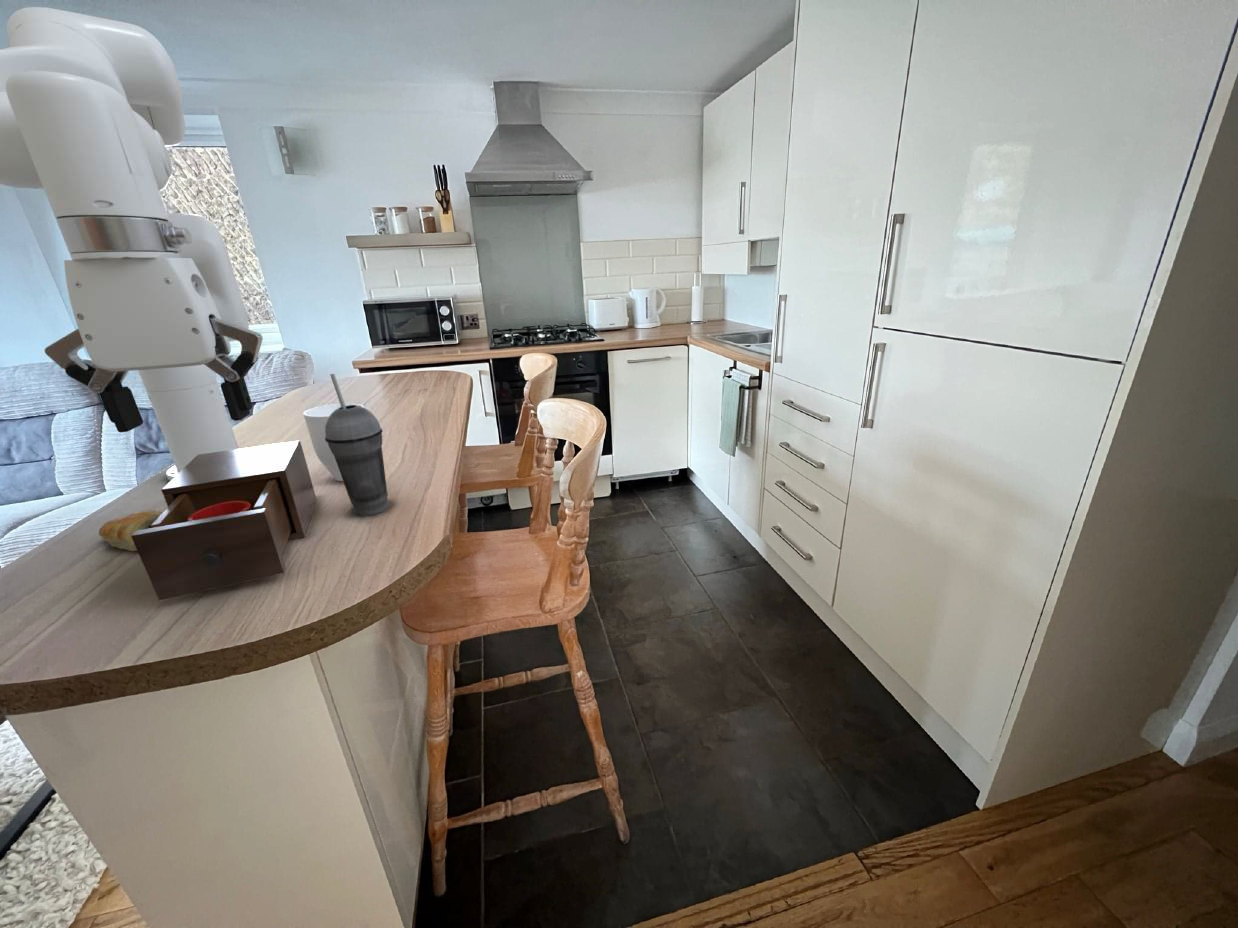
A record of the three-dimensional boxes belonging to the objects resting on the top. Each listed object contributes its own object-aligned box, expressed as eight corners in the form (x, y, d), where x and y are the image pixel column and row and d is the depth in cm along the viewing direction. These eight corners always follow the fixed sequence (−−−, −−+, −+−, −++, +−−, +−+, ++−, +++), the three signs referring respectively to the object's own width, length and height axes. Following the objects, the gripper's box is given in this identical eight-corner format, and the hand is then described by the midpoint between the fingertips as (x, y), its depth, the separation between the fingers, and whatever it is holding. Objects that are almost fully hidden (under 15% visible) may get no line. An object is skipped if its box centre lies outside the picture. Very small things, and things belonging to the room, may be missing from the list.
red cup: (212, 547, 61) (197, 506, 59) (268, 536, 63) (255, 496, 61) (197, 571, 56) (180, 527, 54) (258, 558, 58) (243, 516, 56)
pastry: (85, 547, 66) (73, 522, 65) (140, 524, 73) (130, 500, 71) (140, 553, 64) (129, 527, 63) (192, 528, 71) (183, 504, 69)
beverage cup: (377, 521, 71) (344, 379, 63) (332, 518, 72) (295, 379, 65) (408, 499, 77) (381, 368, 70) (366, 496, 79) (335, 368, 71)
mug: (373, 482, 84) (356, 412, 80) (314, 489, 82) (295, 418, 78) (385, 459, 95) (372, 396, 90) (334, 464, 93) (318, 401, 88)
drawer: (282, 578, 56) (261, 516, 53) (154, 607, 52) (125, 541, 49) (299, 526, 68) (283, 473, 65) (196, 546, 64) (174, 490, 61)
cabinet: (304, 537, 67) (284, 470, 64) (188, 560, 63) (160, 489, 59) (316, 498, 79) (300, 440, 75) (219, 515, 74) (197, 454, 71)
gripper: (246, 243, 52) (292, 405, 58) (34, 247, 47) (108, 423, 53) (216, 238, 45) (271, 422, 51) (-35, 243, 41) (58, 444, 47)
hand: (188, 422), depth 52 cm, fingers open, 9 cm apart
